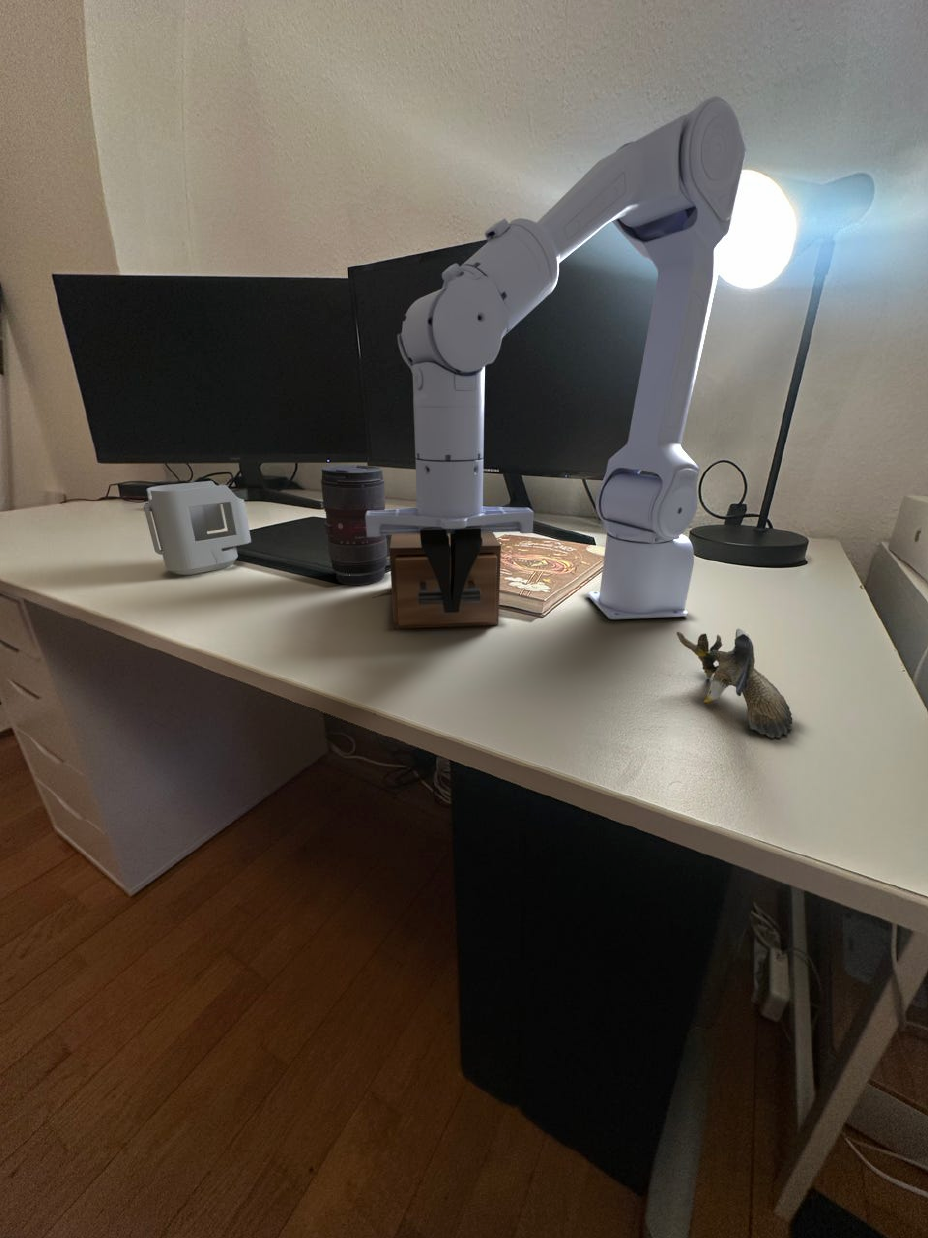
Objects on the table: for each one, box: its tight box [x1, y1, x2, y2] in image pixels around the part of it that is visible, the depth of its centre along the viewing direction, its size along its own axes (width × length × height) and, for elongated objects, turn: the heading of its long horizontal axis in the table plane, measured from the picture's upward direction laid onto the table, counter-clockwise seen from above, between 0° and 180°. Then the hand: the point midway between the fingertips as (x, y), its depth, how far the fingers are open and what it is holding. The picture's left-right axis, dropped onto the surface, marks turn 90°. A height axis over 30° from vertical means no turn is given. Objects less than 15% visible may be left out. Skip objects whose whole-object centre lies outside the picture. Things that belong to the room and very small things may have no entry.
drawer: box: [395, 553, 497, 625], centre depth 55 cm, size 17×10×7 cm, turn 6°
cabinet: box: [388, 532, 502, 629], centre depth 59 cm, size 14×12×9 cm
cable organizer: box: [143, 480, 252, 576], centre depth 71 cm, size 7×12×12 cm, turn 134°
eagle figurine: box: [676, 627, 793, 739], centre depth 40 cm, size 8×7×9 cm
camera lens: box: [320, 464, 388, 586], centre depth 66 cm, size 8×8×15 cm
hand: (451, 608), depth 47 cm, fingers closed, pressing on drawer
